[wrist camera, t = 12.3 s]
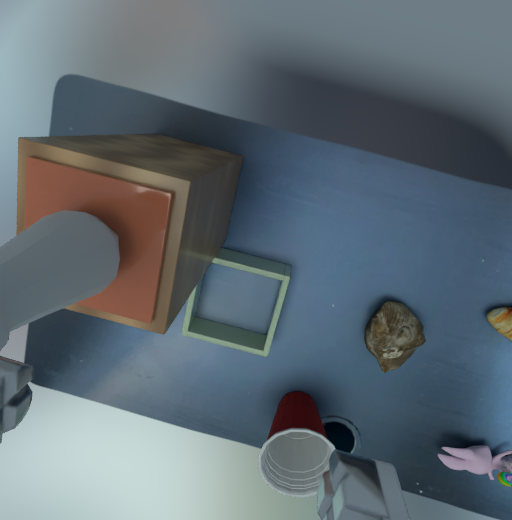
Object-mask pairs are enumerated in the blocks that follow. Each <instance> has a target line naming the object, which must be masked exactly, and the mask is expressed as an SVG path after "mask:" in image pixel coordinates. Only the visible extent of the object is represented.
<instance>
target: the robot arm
mask: <svg viewBox="0 0 512 520" xmlns="http://www.w3.org/2000/svg"><path fill="white" fill-rule="evenodd" d="M32 379H33V367H32V366H30V365H28V364H25V363H22V362H18V361H15V360H12V359H8V358H5V357H2V356H0V443H1V442H2V433H5V432H7V431H9V430H12V429H14V428H15V427H16V426H17V425H18V424H19V423H20V422H21V421H22V419H23V418H24V416H25V415H26V413H27V411H28V409H29V407H30V403H31V400H32V391H31V389H30V387H29V386H28V384H27V383H28V382H29V381H31V380H32ZM317 513H318V514H319V516H320V518H321V520H410V517H409V514H408V510H407V507H406V504H405V500H404V497H403V494H402V490H401V487H400V483H399V480H398V477H397V473H396V470H395V467H394V466H393V465H392V464H390V463H386V462H382V461H378V460H374V459H369V458H366V457H362V456H358V455H355V454H351V453H347V452H343V451H340V450H336V449H335V450H334V451H333V452H332V454H331V456H330V458H329V470H328V471H326V472H324V473H323V476H322V478H321V481H320V485H319V490H318V497H317Z"/></svg>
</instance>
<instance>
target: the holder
mask: <svg viewBox="0 0 512 520" xmlns="http://www.w3.org/2000/svg"><path fill="white" fill-rule="evenodd" d="M212 263H216V264H220V265H224V266H228V267H232V268H236V269H239V270H243V271H247V272H251V273H255V274H259V275H263V276H267V277H270V278H274V279H278V280H281V282H280V286H279V289H278V293H277V297H276V300H275V304H274V307H273V311H272V314H271V318H270V322H269V325H268V329H267V332H266V335H263V334H260V333H256V332H252V331H248V330H244V329H240V328H237V327H233V326H229V325H225V324H221V323H217V322H214V321H210V320H206V319H202V318H198V317H196V312H197V307H198V302H199V297H200V292H201V287H202V282H203V277H204V275H203V276H202V278H201V279H200V281H199V282H198V284H197V285H196V287H195V288H194V290H193V291H192V293H191V295H190V296H189V298H188V302H187V308H186V313H185V318H184V323H183V329H182V335H185V336H189V337H192V338H196V339H200V340H204V341H208V342H212V343H215V344H219V345H223V346H227V347H231V348H234V349H238V350H242V351H246V352H250V353H253V354H257V355H261V356H265V357H268V353H269V350H270V346H271V343H272V339H273V336H274V332H275V329H276V325H277V322H278V318H279V315H280V312H281V308H282V305H283V301H284V298H285V294H286V291H287V287H288V284H289V280H290V274H291V265H287V264H286V265H285V264H283V263H279V262H275V261H271V260H267V259H263V258H259V257H255V256H251V255H248V254H244V253H240V252H236V251H232V250H228V249H224V248H220V250H219V252H218V253H217V255H216V256H215V258H214V259H213V261H212Z"/></svg>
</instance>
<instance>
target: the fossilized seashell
mask: <svg viewBox="0 0 512 520" xmlns="http://www.w3.org/2000/svg"><path fill="white" fill-rule="evenodd" d="M364 340H365V344H366V347H367V349H368V350H369V352H370V353H371V354H372V355H374V356H375V357H376V358H377V360H378V362H379V364H380V367H381V369H382V371H383V372H384V373H385V372H387V371H389V370H395V369H397V368H399V367H400V366H401V365H402V364H403V363H404V362H405V361H406V360H407V359H408V358H409V357H410V356H411V355H412V354H413V352H414V351H415V349H416V348H417V347H419V346H421V345H422V344H424V343H425V341H426V340H425V336H424V334H423V326H422V325H421V323H420V321H419V320H418V319H417V318H416V317H415V316H414V315H413V313H412V312H411V311H410V309H409V308H407V307H406V306H404V304H402V303H400V302H395V301H388V302H385V303H383V304H382V306H381V307H380V308H379V309H378V310H377V311H376V312H375V313H374V315H373V316H372V317H371V319H370V320H369V322H368V324H367V326H366V329H365V337H364Z"/></svg>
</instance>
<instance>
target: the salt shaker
mask: <svg viewBox="0 0 512 520" xmlns="http://www.w3.org/2000/svg"><path fill="white" fill-rule="evenodd" d="M119 262H120V254H119V237H118V235H117V234H116V233H115V232H114V231H112V230H111V229H110V228H109V227H108V226H107V225H106V224H105V223H104V222H103V221H101V220H100V219H99V218H98V217H96V216H93V215H91V214H88V213H86V212H77V211H67V210H64V211H59V212H56V213H53V214H50V215H47V216H45V217H43V218H41V219H40V220H38V221H37V222H35V223H34V224H33V225H31V226H30V227H28V228H27V229H26V230H24V231H23V232H21V233H20V234H18V235H17V236H16V237H14V238H13V239H11V240H10V241H9V242H7V243H6V244H4V245H3V246H1V247H0V350H1V349H2V348H3V347H4V346H5V345H6V343H7V341H8V340H9V332H10V331H13V330H15V329H17V328H19V327H21V326H23V325H26V324H28V323H30V322H32V321H35V320H37V319H39V318H41V317H43V316H46V315H48V314H50V313H53V312H55V311H58V310H60V309H62V308H65V307H67V306H70V305H72V304H74V303H77V302H79V301H82V300H84V299H86V298H89V297H91V296H94V295H96V294H98V293H101V292H103V291H104V289H105V288H106V287H107V286H108V285H109V284H110V283H111V282H112V281H113V280H114V279H115V277H116V276H117V271H118V267H119Z"/></svg>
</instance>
